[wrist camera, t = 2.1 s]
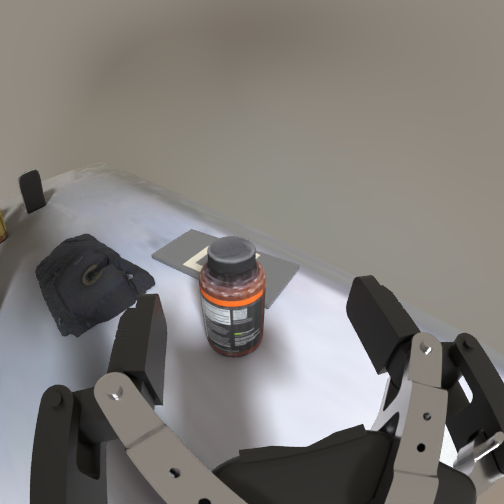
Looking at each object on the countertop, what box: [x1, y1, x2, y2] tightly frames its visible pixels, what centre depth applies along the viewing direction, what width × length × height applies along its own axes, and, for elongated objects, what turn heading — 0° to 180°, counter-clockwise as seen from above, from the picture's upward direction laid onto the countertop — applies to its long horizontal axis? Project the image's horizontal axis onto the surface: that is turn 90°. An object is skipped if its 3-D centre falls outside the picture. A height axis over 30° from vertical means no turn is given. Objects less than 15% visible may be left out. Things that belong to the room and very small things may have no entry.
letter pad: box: [152, 229, 300, 309], centre depth 40 cm, size 20×10×1 cm, turn 60°
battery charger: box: [18, 169, 46, 213], centre depth 56 cm, size 7×4×11 cm, turn 145°
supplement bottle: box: [199, 236, 266, 356], centre depth 26 cm, size 6×6×11 cm
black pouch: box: [36, 234, 155, 337], centre depth 35 cm, size 15×22×5 cm
